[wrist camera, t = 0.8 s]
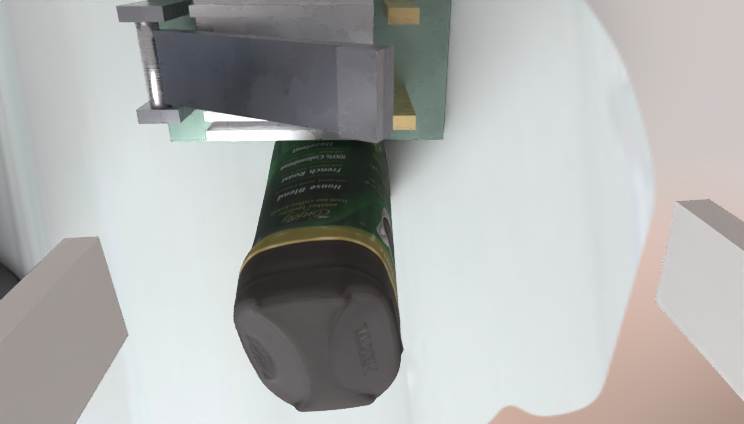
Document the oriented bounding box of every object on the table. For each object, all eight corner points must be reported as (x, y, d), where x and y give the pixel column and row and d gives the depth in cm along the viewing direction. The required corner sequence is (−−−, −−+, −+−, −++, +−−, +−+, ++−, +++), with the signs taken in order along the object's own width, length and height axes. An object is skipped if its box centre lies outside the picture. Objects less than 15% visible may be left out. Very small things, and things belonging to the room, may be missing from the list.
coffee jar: (263, 113, 37) (198, 305, 22) (375, 94, 37) (387, 279, 21) (297, 222, 43) (265, 436, 28) (395, 208, 42) (416, 418, 27)
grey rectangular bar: (178, 100, 31) (156, 106, 30) (167, 28, 29) (144, 31, 28) (392, 133, 25) (376, 143, 24) (394, 45, 23) (377, 50, 22)
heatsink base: (175, 137, 38) (132, 178, 31) (144, -51, 33) (84, -54, 26) (440, 135, 38) (459, 175, 31) (451, -51, 33) (476, -54, 26)
